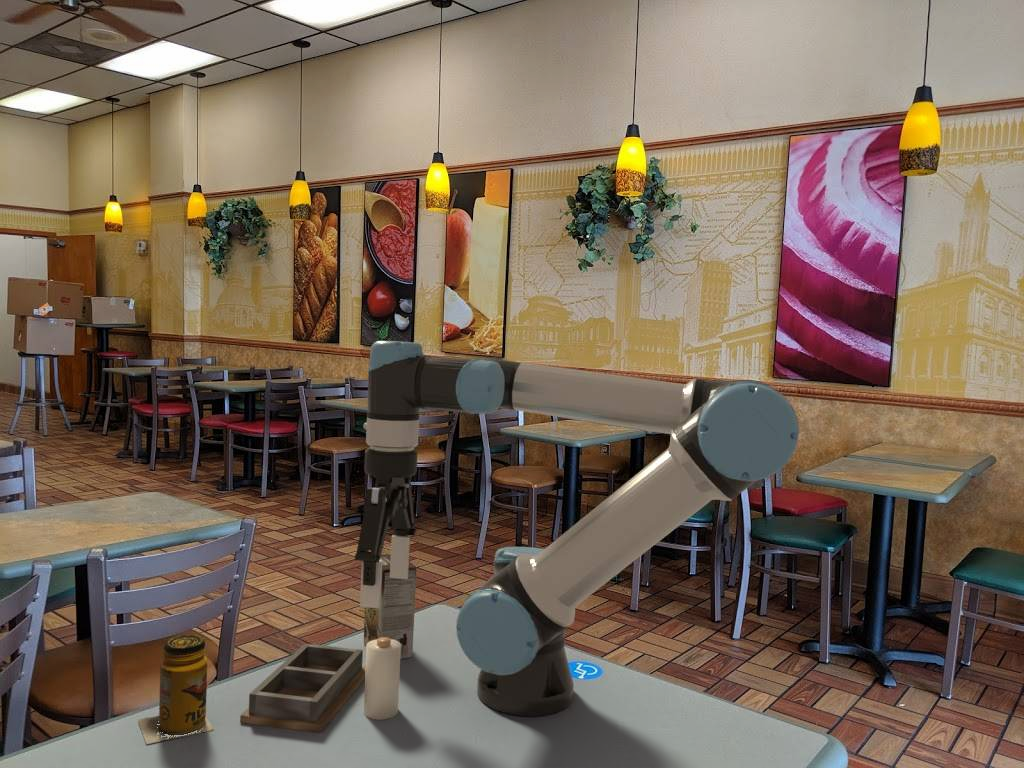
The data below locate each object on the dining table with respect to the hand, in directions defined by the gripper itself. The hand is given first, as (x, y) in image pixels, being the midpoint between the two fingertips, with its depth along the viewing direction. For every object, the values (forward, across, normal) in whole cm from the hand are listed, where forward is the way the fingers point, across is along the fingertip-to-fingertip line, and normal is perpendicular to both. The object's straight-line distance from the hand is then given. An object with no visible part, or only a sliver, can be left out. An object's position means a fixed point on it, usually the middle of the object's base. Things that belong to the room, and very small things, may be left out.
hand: (385, 591), depth 115 cm
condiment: (+18, +11, -26) cm, 34 cm away
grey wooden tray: (+18, -2, -12) cm, 22 cm away
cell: (+18, 0, 0) cm, 18 cm away
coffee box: (+18, -22, -6) cm, 29 cm away
